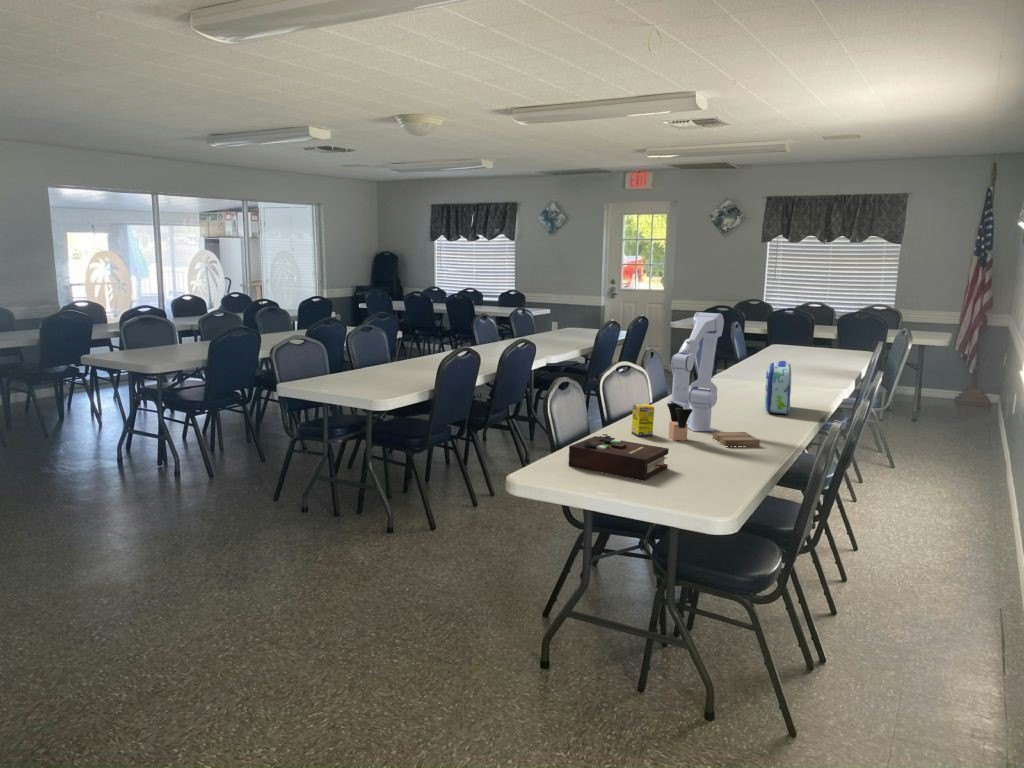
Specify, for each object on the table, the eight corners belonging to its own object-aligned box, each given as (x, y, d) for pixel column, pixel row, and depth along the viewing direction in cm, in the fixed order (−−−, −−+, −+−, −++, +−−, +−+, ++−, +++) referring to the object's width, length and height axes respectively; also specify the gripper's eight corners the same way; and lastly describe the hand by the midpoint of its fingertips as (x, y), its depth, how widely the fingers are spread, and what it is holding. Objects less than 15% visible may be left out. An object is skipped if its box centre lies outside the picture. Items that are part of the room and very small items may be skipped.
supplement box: (638, 437, 271) (639, 407, 270) (631, 433, 277) (632, 404, 275) (653, 436, 273) (654, 406, 271) (645, 432, 279) (647, 403, 277)
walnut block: (712, 440, 271) (713, 432, 271) (744, 440, 273) (745, 432, 272) (725, 448, 259) (726, 440, 259) (758, 448, 261) (759, 440, 260)
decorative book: (651, 459, 215) (560, 442, 231) (650, 485, 216) (559, 466, 232) (677, 446, 230) (590, 431, 247) (676, 470, 232) (589, 454, 248)
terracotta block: (668, 437, 272) (669, 421, 271) (681, 437, 272) (683, 421, 271) (673, 441, 267) (674, 424, 266) (686, 441, 267) (687, 424, 266)
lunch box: (764, 404, 340) (768, 357, 336) (789, 406, 336) (793, 359, 333) (762, 414, 316) (766, 365, 312) (789, 417, 312) (793, 367, 309)
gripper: (663, 384, 273) (661, 421, 275) (676, 391, 259) (674, 429, 261) (682, 384, 274) (679, 421, 276) (696, 391, 260) (693, 429, 262)
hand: (678, 425), depth 269 cm, fingers open, 7 cm apart
